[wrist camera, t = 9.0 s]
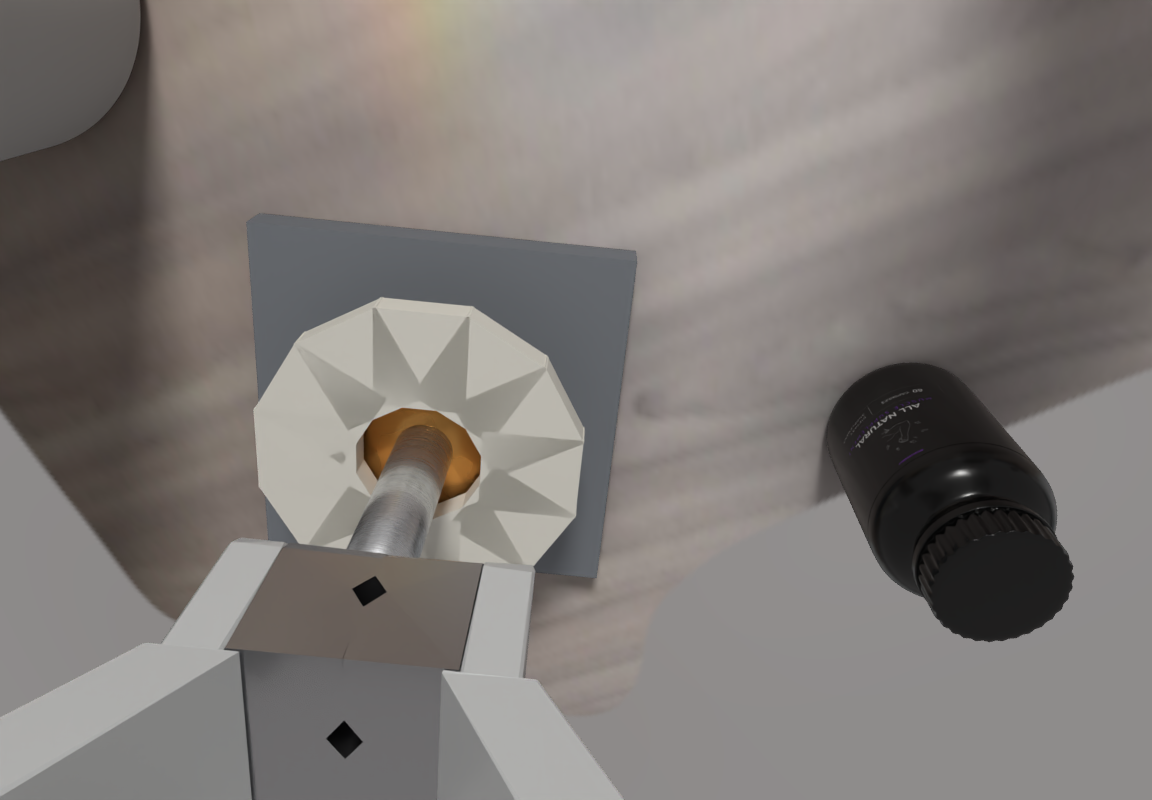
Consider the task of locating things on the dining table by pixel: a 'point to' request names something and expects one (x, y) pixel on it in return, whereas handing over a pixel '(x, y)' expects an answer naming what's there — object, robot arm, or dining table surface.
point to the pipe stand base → (470, 278)
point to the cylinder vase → (61, 67)
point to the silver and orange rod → (412, 478)
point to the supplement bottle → (950, 502)
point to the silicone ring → (429, 382)
